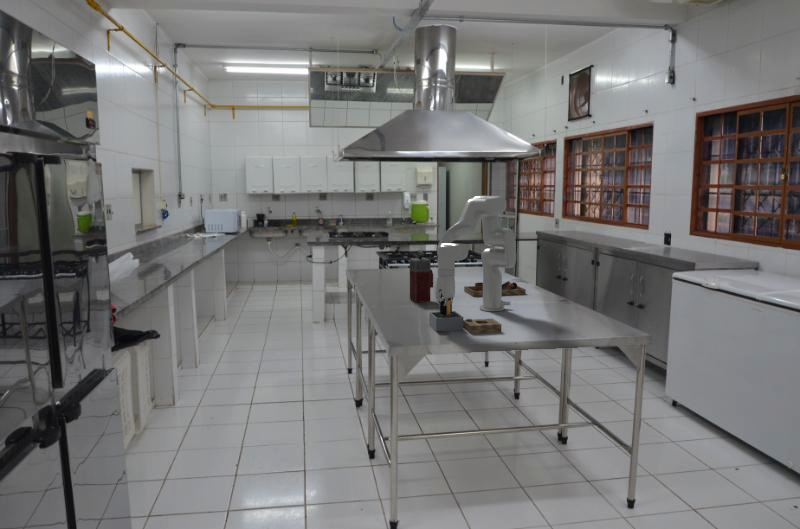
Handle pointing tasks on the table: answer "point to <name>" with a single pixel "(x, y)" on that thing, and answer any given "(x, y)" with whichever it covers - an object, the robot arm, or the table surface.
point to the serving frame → (504, 292)
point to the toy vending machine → (420, 278)
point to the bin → (446, 321)
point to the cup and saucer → (478, 287)
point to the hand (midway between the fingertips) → (445, 312)
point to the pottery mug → (512, 285)
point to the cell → (448, 304)
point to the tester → (481, 326)
